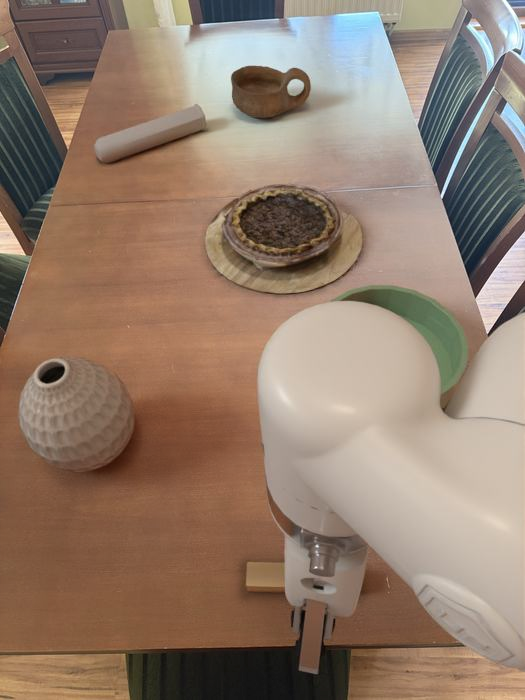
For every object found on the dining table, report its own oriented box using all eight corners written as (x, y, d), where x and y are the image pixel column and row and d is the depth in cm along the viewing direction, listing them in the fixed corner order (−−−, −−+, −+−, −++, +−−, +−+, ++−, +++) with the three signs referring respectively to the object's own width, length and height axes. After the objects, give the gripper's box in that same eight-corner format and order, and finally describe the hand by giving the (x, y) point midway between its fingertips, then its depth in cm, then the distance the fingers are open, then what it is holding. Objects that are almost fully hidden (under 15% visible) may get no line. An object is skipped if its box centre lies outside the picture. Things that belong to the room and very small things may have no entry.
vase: (150, 400, 72) (119, 323, 59) (139, 487, 64) (100, 421, 51) (60, 404, 72) (9, 328, 59) (38, 491, 64) (-27, 426, 51)
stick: (357, 594, 55) (359, 589, 53) (247, 591, 56) (245, 586, 54) (355, 570, 57) (357, 564, 55) (248, 567, 58) (246, 561, 56)
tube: (98, 153, 104) (206, 116, 111) (87, 135, 106) (195, 99, 112) (103, 171, 109) (206, 134, 116) (92, 153, 111) (195, 117, 117)
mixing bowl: (470, 429, 67) (484, 405, 62) (313, 427, 68) (314, 404, 63) (442, 311, 79) (452, 284, 75) (309, 312, 81) (310, 285, 76)
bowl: (298, 81, 125) (302, 43, 115) (313, 124, 120) (318, 88, 110) (226, 92, 123) (225, 54, 113) (239, 136, 118) (238, 100, 108)
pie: (391, 254, 88) (396, 231, 84) (254, 319, 80) (252, 297, 76) (302, 176, 103) (302, 153, 99) (180, 224, 95) (175, 202, 91)
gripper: (393, 668, 24) (356, 694, 37) (400, 369, 34) (369, 475, 48) (236, 636, 25) (255, 673, 38) (289, 356, 35) (289, 463, 49)
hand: (318, 563), depth 43 cm, fingers open, 9 cm apart
